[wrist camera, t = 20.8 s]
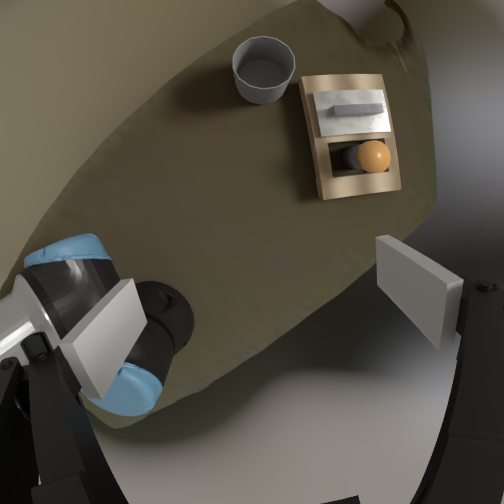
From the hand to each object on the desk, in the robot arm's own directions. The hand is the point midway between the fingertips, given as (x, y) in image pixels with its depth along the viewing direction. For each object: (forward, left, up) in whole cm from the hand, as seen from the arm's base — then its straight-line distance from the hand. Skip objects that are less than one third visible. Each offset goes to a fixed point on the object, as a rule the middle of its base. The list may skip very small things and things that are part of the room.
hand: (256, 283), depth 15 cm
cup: (+5, +20, -35) cm, 41 cm away
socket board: (+18, +9, -35) cm, 40 cm away
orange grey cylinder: (+18, +5, -35) cm, 39 cm away
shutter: (+18, +12, -31) cm, 38 cm away
